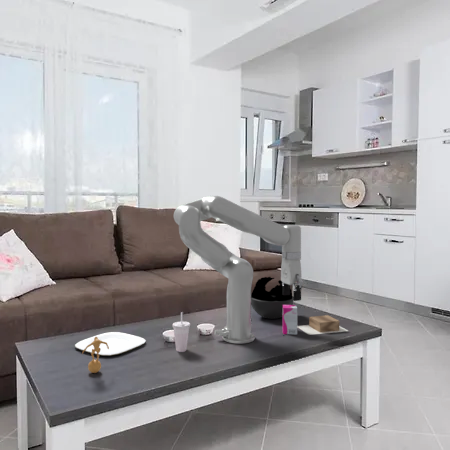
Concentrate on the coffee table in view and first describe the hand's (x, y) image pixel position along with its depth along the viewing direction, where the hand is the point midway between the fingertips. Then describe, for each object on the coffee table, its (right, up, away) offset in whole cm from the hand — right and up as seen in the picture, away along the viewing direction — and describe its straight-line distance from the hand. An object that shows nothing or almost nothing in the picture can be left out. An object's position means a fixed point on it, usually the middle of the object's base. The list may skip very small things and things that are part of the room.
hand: (291, 297), depth 178 cm
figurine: (-67, -17, -40) cm, 80 cm away
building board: (+13, -15, +6) cm, 21 cm away
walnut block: (+14, -14, +6) cm, 21 cm away
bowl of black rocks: (-6, -14, +23) cm, 28 cm away
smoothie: (-43, -16, -19) cm, 49 cm away
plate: (-69, -16, -15) cm, 73 cm away
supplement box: (-1, -15, +1) cm, 15 cm away
